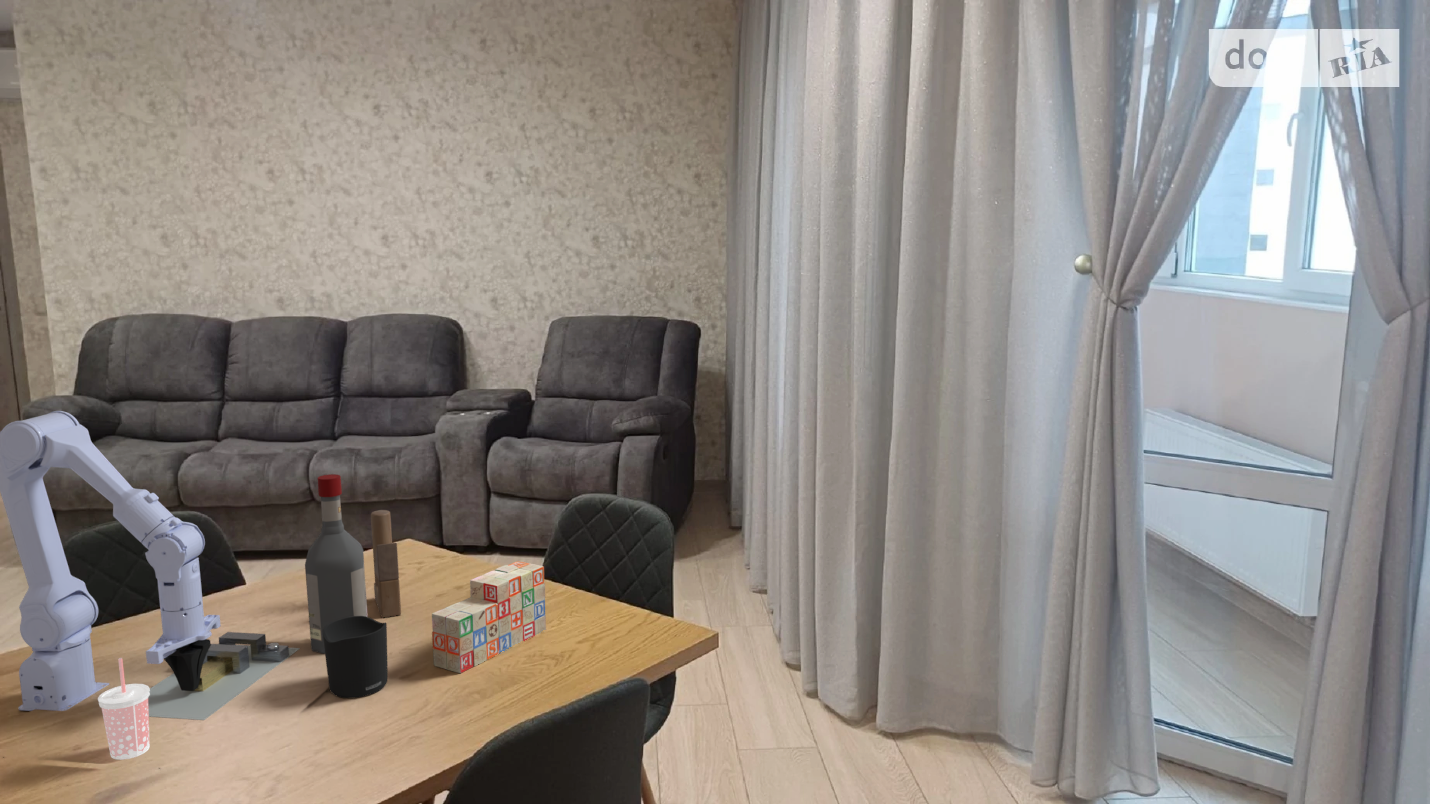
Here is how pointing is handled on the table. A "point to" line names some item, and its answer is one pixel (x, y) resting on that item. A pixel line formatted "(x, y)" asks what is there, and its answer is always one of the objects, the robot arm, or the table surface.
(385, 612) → the wooden block
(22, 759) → the table surface
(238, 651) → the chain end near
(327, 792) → the table surface
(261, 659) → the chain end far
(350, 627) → the pen holder
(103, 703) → the beverage cup
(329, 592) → the liquor
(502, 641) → the stack of blocks
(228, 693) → the mat
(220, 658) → the link bar
